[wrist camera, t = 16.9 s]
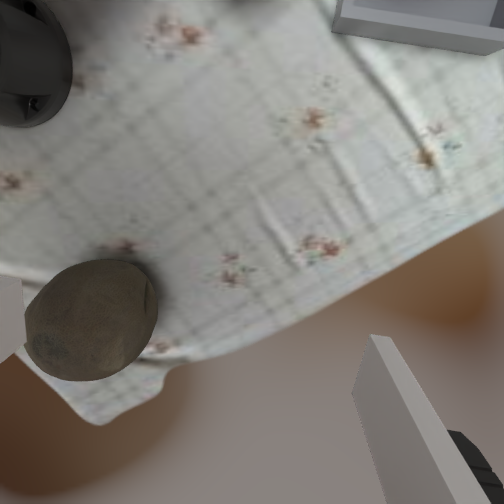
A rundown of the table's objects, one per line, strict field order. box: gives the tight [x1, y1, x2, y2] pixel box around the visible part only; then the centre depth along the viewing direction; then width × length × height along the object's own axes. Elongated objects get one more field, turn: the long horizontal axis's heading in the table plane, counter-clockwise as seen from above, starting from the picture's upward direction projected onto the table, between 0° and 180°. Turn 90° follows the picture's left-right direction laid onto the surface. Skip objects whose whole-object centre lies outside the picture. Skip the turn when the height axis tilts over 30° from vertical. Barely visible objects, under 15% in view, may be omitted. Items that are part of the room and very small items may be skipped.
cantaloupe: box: [24, 259, 158, 381], centre depth 41 cm, size 14×14×15 cm
